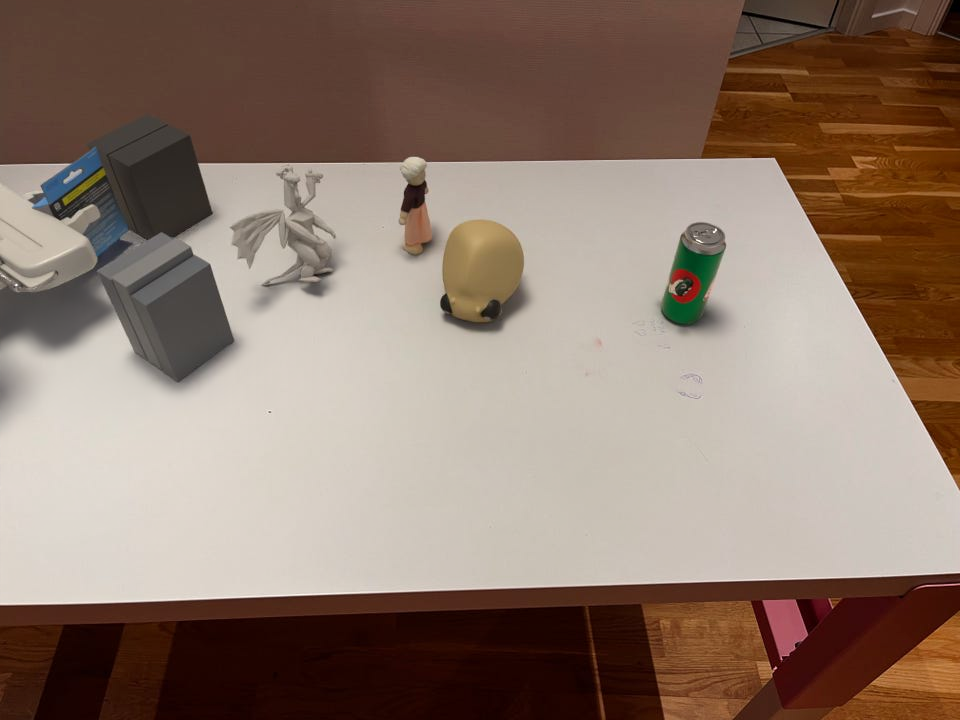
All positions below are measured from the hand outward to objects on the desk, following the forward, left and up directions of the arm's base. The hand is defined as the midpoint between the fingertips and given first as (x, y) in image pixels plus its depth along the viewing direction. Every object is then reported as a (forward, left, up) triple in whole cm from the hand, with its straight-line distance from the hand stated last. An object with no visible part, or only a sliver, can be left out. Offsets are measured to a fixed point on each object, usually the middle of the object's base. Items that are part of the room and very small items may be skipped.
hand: (80, 199), depth 89 cm
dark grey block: (0, +10, -8) cm, 13 cm away
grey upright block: (+21, -4, -8) cm, 23 cm away
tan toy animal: (+43, +23, -9) cm, 49 cm away
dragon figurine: (+22, +14, -9) cm, 27 cm away
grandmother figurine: (+30, +27, -9) cm, 41 cm away
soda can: (+64, +36, -9) cm, 74 cm away
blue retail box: (0, -1, -7) cm, 7 cm away
